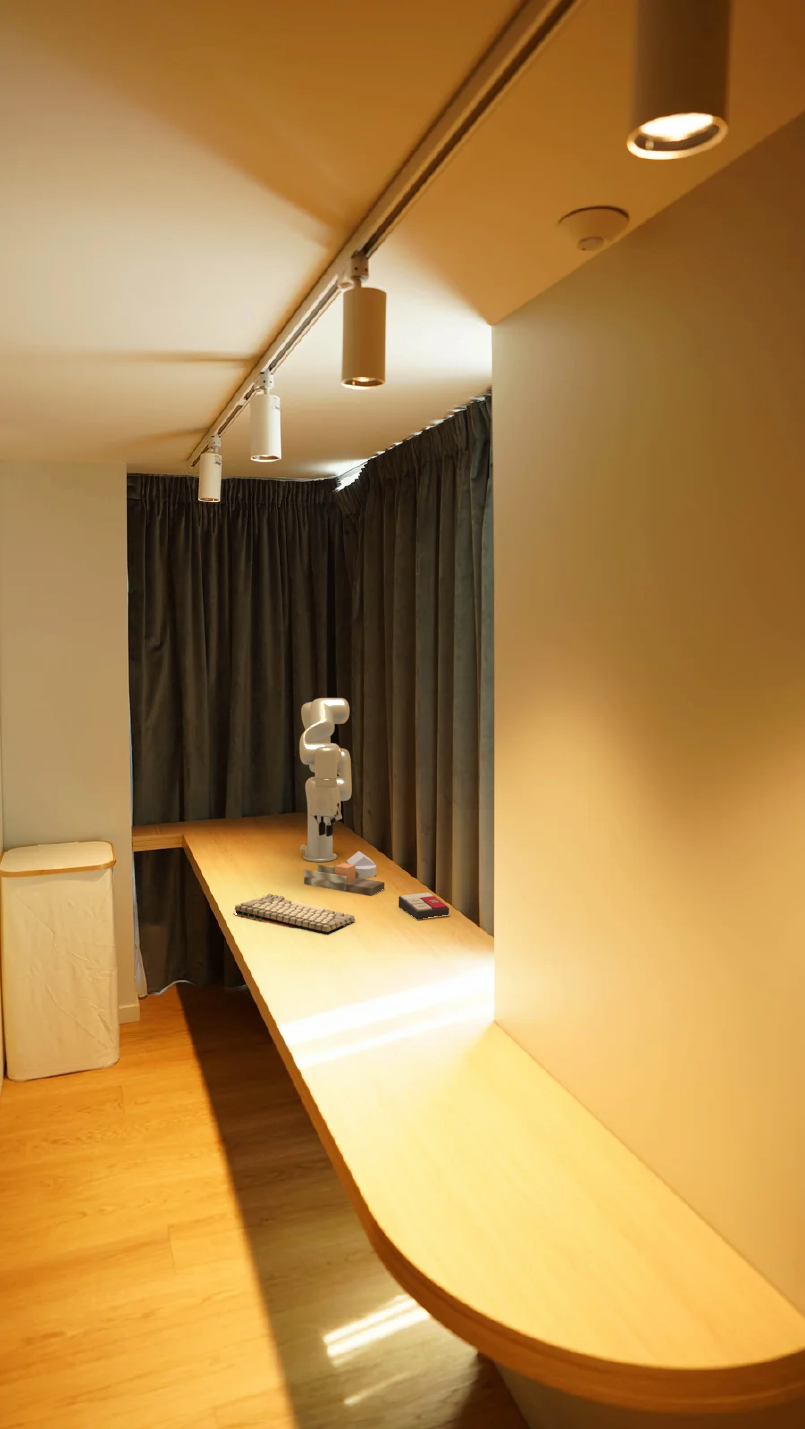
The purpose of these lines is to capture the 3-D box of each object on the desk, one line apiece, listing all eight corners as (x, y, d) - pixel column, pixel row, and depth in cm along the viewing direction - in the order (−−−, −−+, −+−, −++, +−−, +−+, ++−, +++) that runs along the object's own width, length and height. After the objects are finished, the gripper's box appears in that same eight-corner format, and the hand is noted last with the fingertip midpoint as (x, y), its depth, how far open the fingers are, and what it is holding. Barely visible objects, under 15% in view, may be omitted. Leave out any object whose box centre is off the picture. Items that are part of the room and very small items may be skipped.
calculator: (417, 909, 295) (398, 893, 309) (416, 923, 296) (397, 906, 309) (449, 905, 299) (429, 890, 313) (449, 918, 300) (429, 903, 314)
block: (335, 880, 329) (335, 866, 329) (343, 877, 333) (343, 862, 333) (347, 882, 327) (347, 868, 326) (355, 879, 331) (355, 864, 330)
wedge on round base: (346, 869, 353) (353, 878, 340) (346, 851, 352) (354, 860, 340) (370, 868, 355) (378, 877, 343) (370, 850, 355) (379, 859, 342)
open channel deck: (304, 883, 333) (304, 869, 333) (318, 878, 341) (318, 864, 340) (371, 895, 320) (371, 880, 320) (384, 889, 328) (384, 875, 327)
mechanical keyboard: (362, 921, 296) (362, 910, 295) (326, 939, 280) (326, 927, 279) (266, 901, 315) (266, 891, 315) (227, 917, 299) (227, 906, 299)
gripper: (300, 782, 331) (300, 834, 333) (339, 786, 323) (339, 840, 325) (312, 778, 338) (312, 830, 339) (351, 783, 330) (351, 836, 332)
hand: (325, 834), depth 332 cm, fingers closed
